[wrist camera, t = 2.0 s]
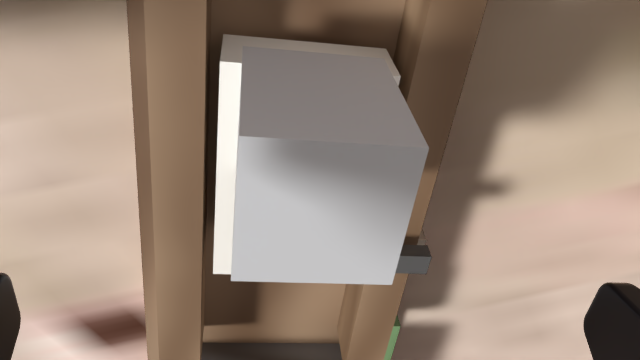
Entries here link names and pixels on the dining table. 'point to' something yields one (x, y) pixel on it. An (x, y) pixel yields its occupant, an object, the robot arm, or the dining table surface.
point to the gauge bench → (201, 159)
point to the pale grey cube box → (314, 164)
